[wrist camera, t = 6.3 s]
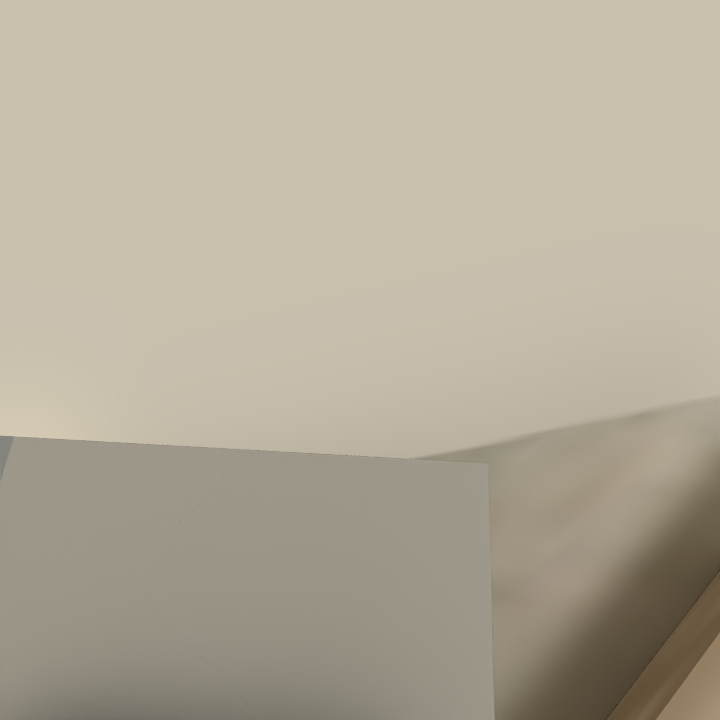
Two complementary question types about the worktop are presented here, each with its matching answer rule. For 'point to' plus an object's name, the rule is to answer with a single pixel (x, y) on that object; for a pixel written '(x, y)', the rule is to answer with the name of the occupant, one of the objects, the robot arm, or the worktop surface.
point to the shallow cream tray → (682, 669)
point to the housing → (241, 584)
